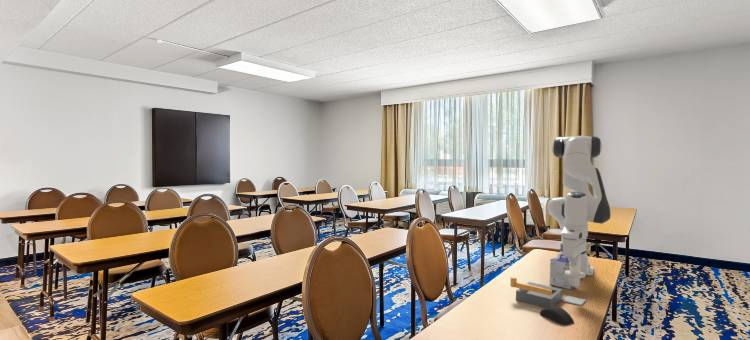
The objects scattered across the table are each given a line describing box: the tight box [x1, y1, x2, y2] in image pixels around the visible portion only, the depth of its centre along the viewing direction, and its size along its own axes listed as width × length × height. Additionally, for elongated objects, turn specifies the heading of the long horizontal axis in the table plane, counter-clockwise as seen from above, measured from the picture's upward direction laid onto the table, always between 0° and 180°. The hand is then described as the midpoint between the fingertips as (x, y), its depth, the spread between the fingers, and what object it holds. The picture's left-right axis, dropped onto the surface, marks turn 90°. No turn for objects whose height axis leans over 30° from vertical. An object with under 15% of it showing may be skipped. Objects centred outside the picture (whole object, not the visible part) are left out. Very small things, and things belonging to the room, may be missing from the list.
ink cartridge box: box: [549, 254, 576, 290], centre depth 178 cm, size 10×6×14 cm, turn 41°
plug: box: [565, 254, 586, 288], centre depth 159 cm, size 8×8×13 cm
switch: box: [515, 281, 564, 308], centre depth 162 cm, size 15×14×5 cm
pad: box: [562, 295, 586, 307], centre depth 160 cm, size 7×7×1 cm
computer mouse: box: [539, 305, 575, 326], centre depth 143 cm, size 6×11×4 cm, turn 26°
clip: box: [510, 276, 552, 296], centre depth 157 cm, size 2×16×4 cm, turn 48°
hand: (574, 264), depth 159 cm, fingers closed on plug, 4 cm apart
